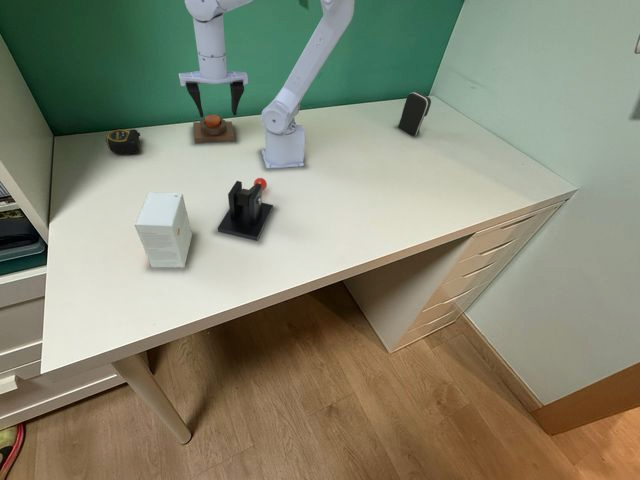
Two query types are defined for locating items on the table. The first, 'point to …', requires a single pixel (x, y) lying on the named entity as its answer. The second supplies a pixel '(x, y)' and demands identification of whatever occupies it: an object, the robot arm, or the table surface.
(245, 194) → the lever
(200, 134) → the button block
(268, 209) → the lever bracket
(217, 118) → the button
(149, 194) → the small box
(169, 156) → the table surface
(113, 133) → the tape measure
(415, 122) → the battery charger
